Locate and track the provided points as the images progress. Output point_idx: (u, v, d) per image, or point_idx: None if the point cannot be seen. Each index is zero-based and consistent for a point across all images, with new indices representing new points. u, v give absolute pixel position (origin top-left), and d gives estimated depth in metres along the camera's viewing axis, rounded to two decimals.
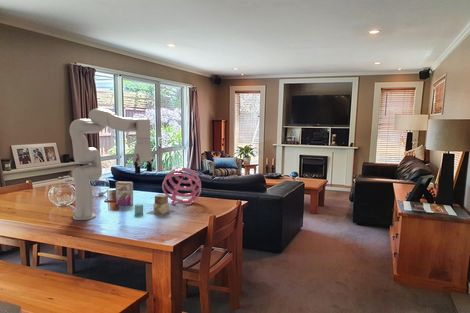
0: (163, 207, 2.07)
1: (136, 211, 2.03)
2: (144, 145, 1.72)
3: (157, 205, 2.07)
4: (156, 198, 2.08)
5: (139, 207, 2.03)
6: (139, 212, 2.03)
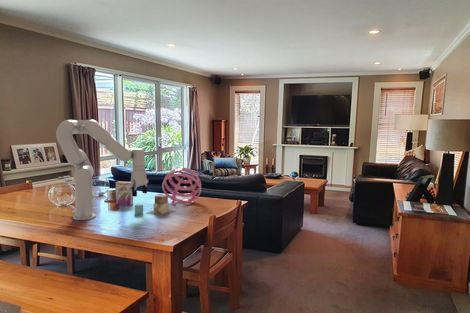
0: (163, 207, 2.07)
1: (136, 211, 2.03)
2: (139, 172, 2.00)
3: (157, 205, 2.07)
4: (156, 198, 2.08)
5: (139, 207, 2.03)
6: (139, 212, 2.03)
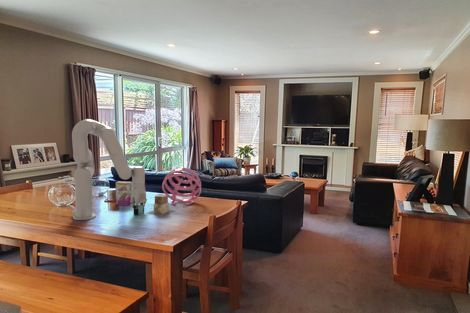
0: (163, 207, 2.07)
1: None
2: (139, 189, 2.01)
3: (157, 205, 2.07)
4: (156, 198, 2.08)
5: (139, 207, 2.03)
6: (139, 212, 2.03)
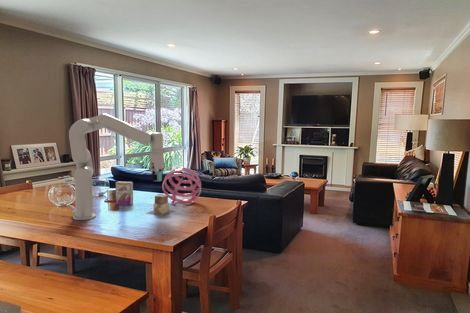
0: (163, 207, 2.07)
1: None
2: (158, 155, 2.04)
3: (157, 205, 2.07)
4: (156, 198, 2.08)
5: (158, 173, 2.05)
6: (158, 178, 2.05)
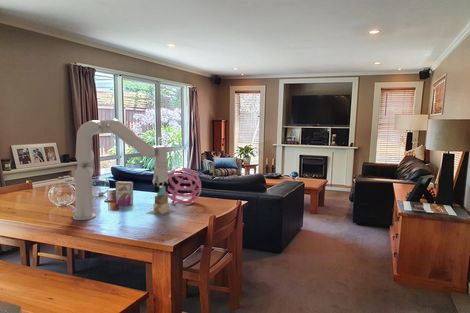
0: (163, 207, 2.07)
1: (159, 192, 2.07)
2: (162, 168, 2.05)
3: (157, 205, 2.07)
4: (156, 198, 2.08)
5: (162, 188, 2.07)
6: (162, 193, 2.07)
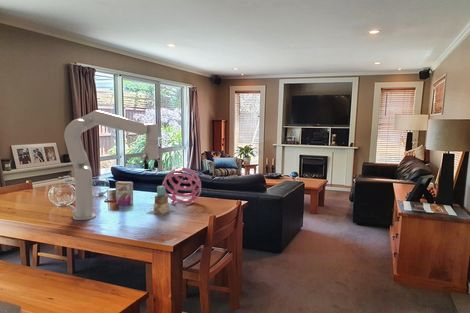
0: (163, 207, 2.07)
1: (159, 192, 2.07)
2: (152, 146, 2.07)
3: (157, 205, 2.07)
4: (156, 198, 2.08)
5: (162, 188, 2.07)
6: (162, 193, 2.07)
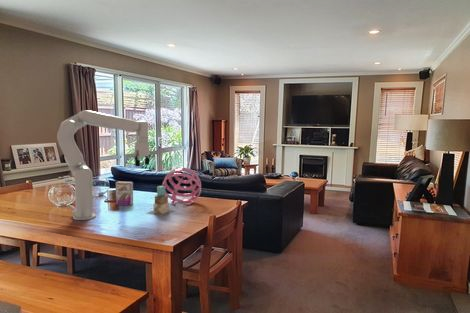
0: (163, 207, 2.07)
1: (159, 192, 2.07)
2: (143, 143, 2.10)
3: (157, 205, 2.07)
4: (156, 198, 2.08)
5: (162, 188, 2.07)
6: (162, 193, 2.07)
